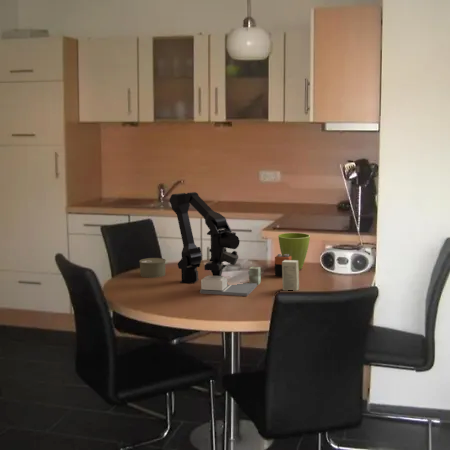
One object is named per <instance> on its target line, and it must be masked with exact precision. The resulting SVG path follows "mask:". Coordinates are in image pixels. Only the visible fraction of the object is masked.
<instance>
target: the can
mask: <svg viewBox="0 0 450 450" xmlns="http://www.w3.org/2000/svg"><path fill="white" fill-rule="evenodd" d="M166 261H167V260H166V259H165V258H161V257H148V258H142V259H140V260H139V261H138V262H139V270H140V271H139V273H140V274H139V276H140V277H142V278H146V279H147V278H148V279H149V278H150V279H152V278H160V277H161V278H162V277H164V276H166Z"/></svg>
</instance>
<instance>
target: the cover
mask: <svg viewBox="0 0 450 450" xmlns="http://www.w3.org/2000/svg"><path fill="white" fill-rule="evenodd" d="M200 281H201V282H200V283H201V284H200V286H201V287H200V288H201V289H204V290H221V291H222V290H224V289H225V288H226V287H227V282H228V276H225V275H221V276H213V274H212V275H206V276H204V277H203V278H201V280H200ZM201 289H200V290H201Z"/></svg>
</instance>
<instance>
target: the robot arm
mask: <svg viewBox="0 0 450 450" xmlns="http://www.w3.org/2000/svg"><path fill="white" fill-rule="evenodd" d="M169 204H170V208H171V209H172V210H173V212H174V213H175V214H176V217H177V218H176V219H177V222H178V228H179V231H180V235H181V236H180V237H181V241H182V246H183V247H182V251H181V254H180V255H181V259H179V261H178V263H177V267H178V269H179V270H181V271H180V272H181V280H180V283H182V284H183V283H185V284H187V283H188V284H195V283H196V282H198V281H199V271H198V268H200V267H201V263H202V260H203V254H202V250H201V247H200V246H197V244H195V241H194V239H195V238H194V235H193V230H192V226H191V225H192V224H191V220H190V215H189V210H190V206H192V207H193V208H194V209H195V210H196V212H198V214H200V215H201V216H202V218H203V219H204V222H205V225H206V226H207V228H208V232H207V233H206V235H207V236H210V248H209V252H210V258H209V261H208V262H206V263H205V264H204V266H203V267H204V271H210V272H211V274H212V276H222V274H223V270H224V269H225V268H226V267H227V264H224V262H225V263H228V264H230V265H232V266H235V264H237V262H238V259H239V255H238V251H236V249H238V247H239V246H240V238H239V236H237V235H236V234H237V233H236V232H235V231H234V232H232V229H231V227H230V225H229V224H228V222H227V221H228V220H227V219H226V217H225V216H224V215H222V214H221V213H220V212H217V211H214V210H213V209H212V208H211V207H210V206H209V205H208V204H207V203H206V202H205V201H204V199H202V198H201V197H200V195H199V193H197V192H196V191H192V192H191V191H190V192H186V193H185V192H181V193H171V195H170V198H169ZM227 249H229V250H233V251H232V252H230V251H229V252H228V251H227Z"/></svg>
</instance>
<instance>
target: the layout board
mask: <svg viewBox="0 0 450 450" xmlns="http://www.w3.org/2000/svg"><path fill="white" fill-rule="evenodd" d="M242 283H243V284H237V285H228V284H227V287H226V288H225V289H224V290H222V291H221V290H204V289H200V290H199V293H200V294H205V295H208V294H209V295H221V296H222V295H223V296H237V297H239V296H240V297H248V296H249V295H250V294H251V293H252V292H253V291H254V290H255V289H256V288H257V287H258V285H257V283H249V282H242Z"/></svg>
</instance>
